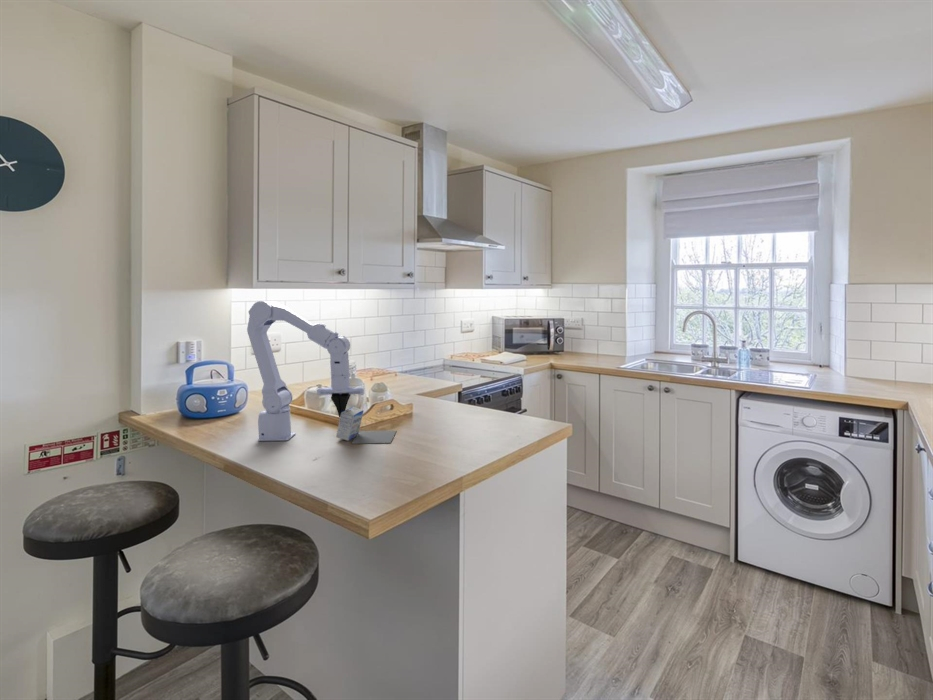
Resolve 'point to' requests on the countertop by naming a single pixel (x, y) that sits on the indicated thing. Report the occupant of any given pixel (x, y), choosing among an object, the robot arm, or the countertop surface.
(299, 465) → the countertop surface
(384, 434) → the mat
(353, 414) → the medicine box
